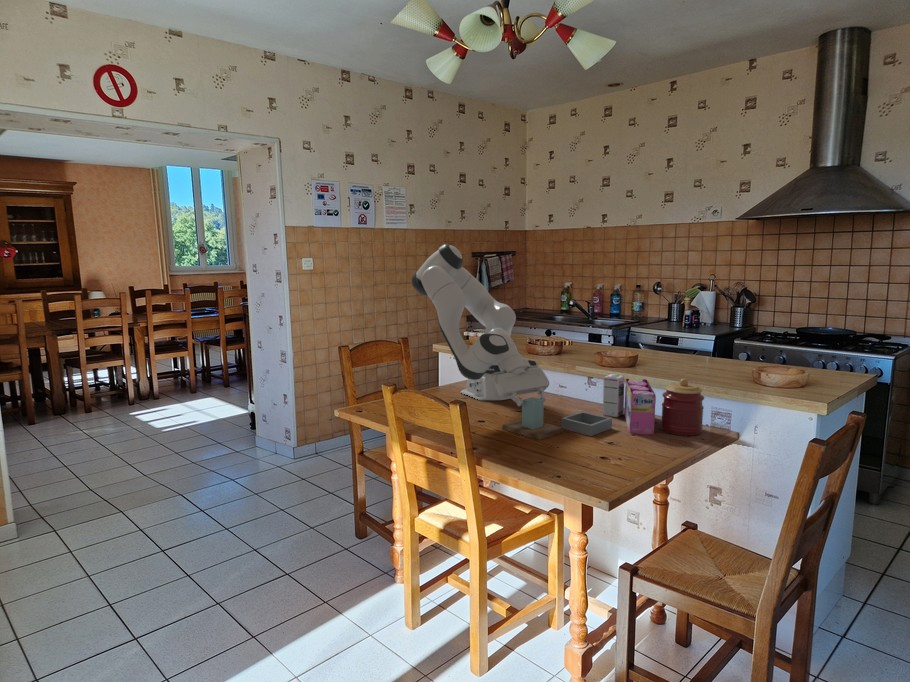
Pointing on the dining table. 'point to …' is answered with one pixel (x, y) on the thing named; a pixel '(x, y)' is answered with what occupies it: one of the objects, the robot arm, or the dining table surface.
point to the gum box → (639, 407)
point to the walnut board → (533, 430)
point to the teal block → (532, 413)
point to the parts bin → (576, 424)
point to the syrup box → (613, 395)
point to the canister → (682, 409)
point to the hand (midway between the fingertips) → (532, 403)
